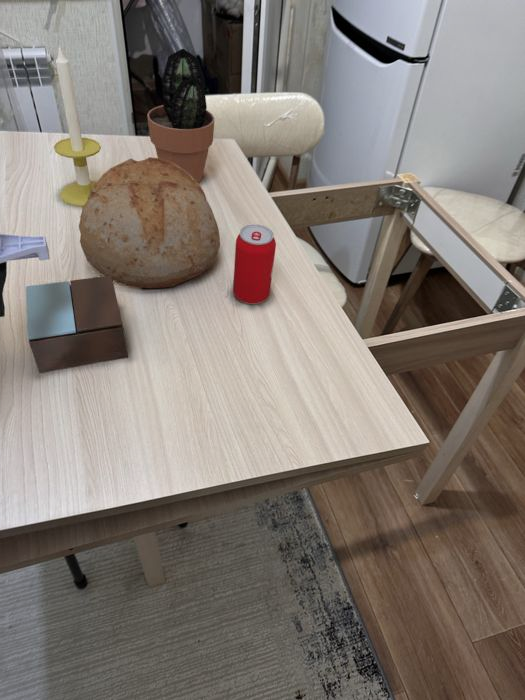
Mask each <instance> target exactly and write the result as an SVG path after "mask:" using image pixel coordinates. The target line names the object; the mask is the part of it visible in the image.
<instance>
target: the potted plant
mask: <svg viewBox="0 0 525 700" xmlns="http://www.w3.org/2000/svg"><path fill="white" fill-rule="evenodd" d="M205 80H206V79H205V76H204V73H203V70H202V65H201V62H200V59H199V58H198V57H197V56H195V55H194V54H192V53H191V52H189V51H187V50H186V49H185V48H181V49H179V50H177V51H175V52H173V53H172V54H170V55H167V60H166V64H165V67H164V71H163V75H162V78H161V92H162V103H163V104H162V105H159V106H155V107H153V108H152V109H150V110H149V111H148V113H147V114H146V116H147V125H148V133H149V139H150V142H151V143H152V144H153V145H154V148H155V152H156V156H157V158H161V159H164V160H168V161H170V162H172V163H174V164H176V165H178V166H179V167H181V168H182V169H184V170H185V171H186V172H188V173H189V174H190V175H191V176H192V177H193V178H194V179H195V181H196V182H197V183H198V184H199V183H200V182H201V181H202V180H203V176H204V171H205V167H206V163H207V159H208V153H209V149H210V147H211V146H212V145H213V142H214V133H215V132H214V131H215V120H216V119H215V116H214V115H213V113H212V112H210V111H209V110H207V109H208V106H207V98H206V91H205V90H206V89H205V87H206V81H205Z"/></svg>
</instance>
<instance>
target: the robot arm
mask: <svg viewBox="0 0 525 700" xmlns="http://www.w3.org/2000/svg"><path fill="white" fill-rule="evenodd" d="M48 246H49V245H48V242H47V238H46V235H40V236H39V235H37V236H31V235H28V236H27V235H16V234H5V233H4V234H3V233H0V318H3V317H4V318H5V316H6V306H5V301H4V295H3V294H4V287H5V283H6V280H7V274H8V269H7V268H8V265H7V264H8V262H10V261H18V260H19V261H20V260H28V259H36V258H37V259H38V260H39V261H47V260H50V251H49V250H50V249H49V247H48Z"/></svg>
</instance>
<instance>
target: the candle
mask: <svg viewBox="0 0 525 700" xmlns="http://www.w3.org/2000/svg"><path fill="white" fill-rule="evenodd" d="M57 53H58V54H57V58H56V60H55V65H56V70H57V77H58V82H59V87H60V91H61V98H62V102H63V108H64V114H65V119H66V124H67V130H68V135H69V137H67V138H64V139H61V140H59V141H56V143H55V144H54V145H53V149H54V152H55V153H56V154H58V155H59V156H60V157H64V158H67V159H68V158H69V159H72V162H73V166H74V171H75V172H74V173H75V177H76V182H73V183H70V184H67V185H66V186H64V187H63V188H62V189H61V191H60V193H59V196H60V199H61V200H62V201H63V202H64V203H66V204H67V205H71V206H73V207H83V205H84V204H85V203H86V202H87V200H88V196H89V194H90V192H91V189H92V188H93V186H94V185H95V183H96V182H97V181H91V177H90V172H89V165H88V160H87V158H89V157H94V156H95V155H96V154H99V153H100V151H101V148H102V146H101V144H100V142H98V140H97V141H96V140H95V139H92V138H88V137H82V130H81V123H80V119H79V113H78V107H77V101H76V95H75V90H74V84H73V83H74V82H73V78H72V72H71V66H70V61H69V60H68V59H67V58H66V55H65V54H64V51H63V49H62V48H61V45H60V43H59V44H58V51H57Z"/></svg>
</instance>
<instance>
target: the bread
mask: <svg viewBox="0 0 525 700" xmlns="http://www.w3.org/2000/svg"><path fill="white" fill-rule="evenodd" d="M95 182H96V183H95V185H94V186H93V188H92V189H91V192H90V194H89V196H88V200H87V202H86V203H85V204H84V205H83V206H82V209H81V213H80V216H79V223H78V231H79V233H80V239H79V244H80V247H81V250H82V252H83V254H84V257H85V258H86V261H87V262H88V263H89V264H90V265H91V267H93V269H94V270H95V271H96V272H98V273H100V274H101V275H103V276H110V275H111V277H112V280H113V282H117V283H119V284H122V285H124V286H129V287H133V288H134V287H135V288H142V289H144V288H145V289H157V288H158V289H159V288H160V289H161V288H171V287H173V286H176V285H179V284H181V283H183V282H186V281H188V280H191V279H192V278H194V277H197V276H198V275H201V274H203V273H204V272H206V271H207V270H208V269H209V268H210V267H212V265H213V264H214V262H215V260H216V258H217V256H218V254H219V250H220V247H221V237H220V229H219V226H218V223H217V220H216V218H215V215H214V212H213V209H212V207H211V205H210V203H209V201H208V199H207V197H206V193H205V192H204V189H203V187H202V186H201V185H200V184H199V183H197V182H196V181H195V179H194V178H193V177H192V176H191V175H190V174H189V173H188V172H186V171H185V170H184V169H182V168H181V167H179V166H178V165H176V164H174V163H172V162H170V161H168V160H164V159H161V158H158V157H150V156H149V157H147V158H145V159H142V160H134V159H133V158H129V159H128V160H124V161H122V162H120V163H119V164H116V165H114V166H112V167H110V168H109V169H108V170H107V171H105V172H104V173H103V174H102V175H101V177H100V178H99V179H97V181H95Z"/></svg>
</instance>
